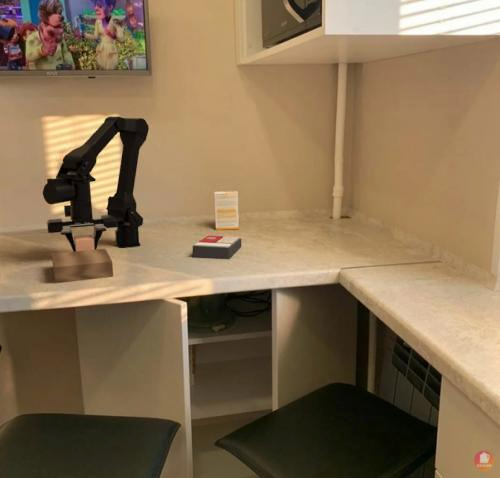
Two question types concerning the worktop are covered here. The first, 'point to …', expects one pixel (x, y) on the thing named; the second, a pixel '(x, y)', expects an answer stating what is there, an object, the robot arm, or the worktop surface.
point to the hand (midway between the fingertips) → (85, 253)
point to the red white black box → (216, 247)
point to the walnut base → (82, 265)
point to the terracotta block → (84, 243)
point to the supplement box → (226, 210)
